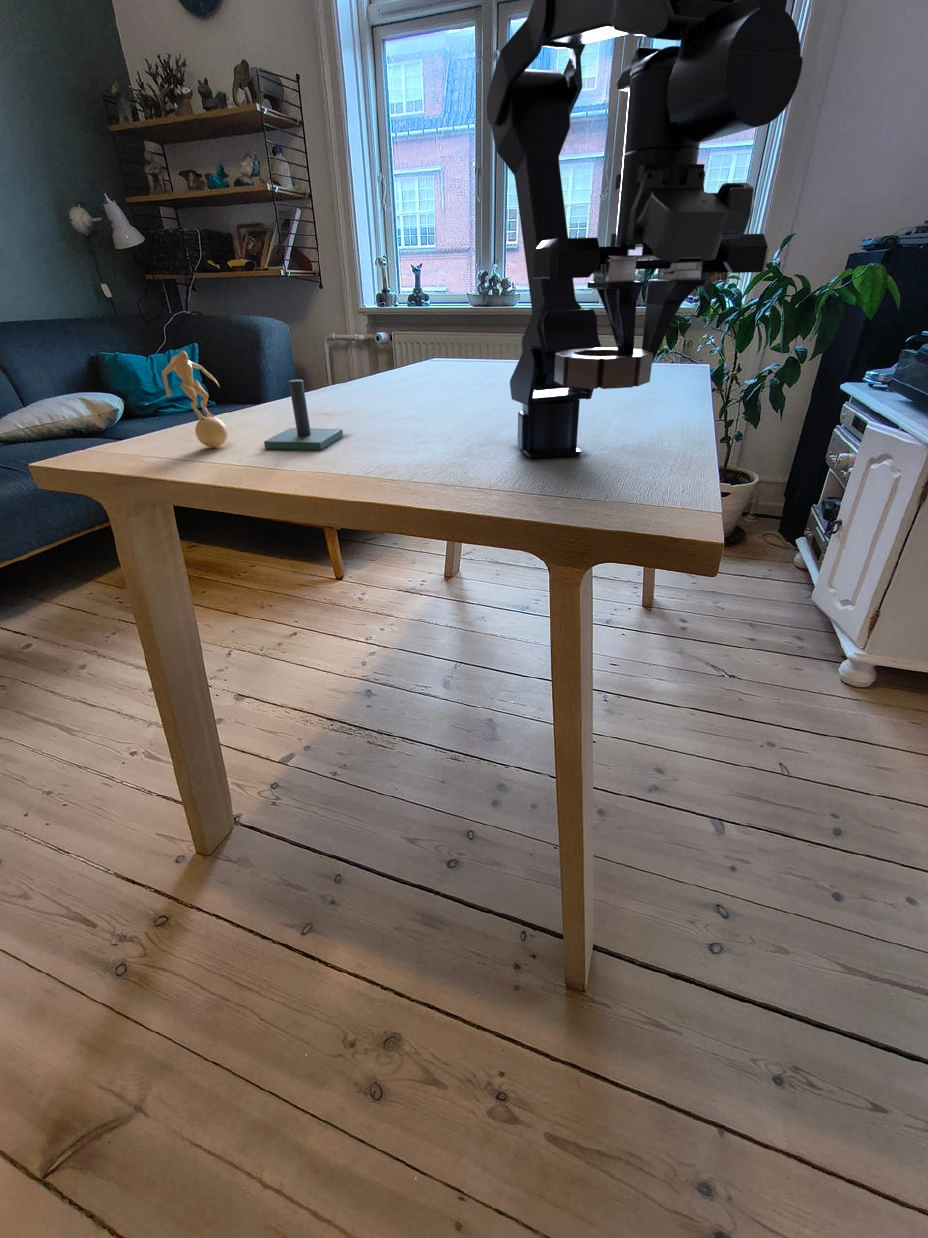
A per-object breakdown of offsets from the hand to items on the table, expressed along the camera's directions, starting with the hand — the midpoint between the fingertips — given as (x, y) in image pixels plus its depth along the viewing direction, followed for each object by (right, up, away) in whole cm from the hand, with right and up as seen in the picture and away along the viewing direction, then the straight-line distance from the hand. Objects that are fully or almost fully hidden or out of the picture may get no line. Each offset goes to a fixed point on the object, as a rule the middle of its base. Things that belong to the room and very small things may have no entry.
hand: (636, 367), depth 55 cm
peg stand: (-38, +1, +27) cm, 47 cm away
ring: (-3, -1, 0) cm, 3 cm away
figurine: (-51, 0, +27) cm, 57 cm away
